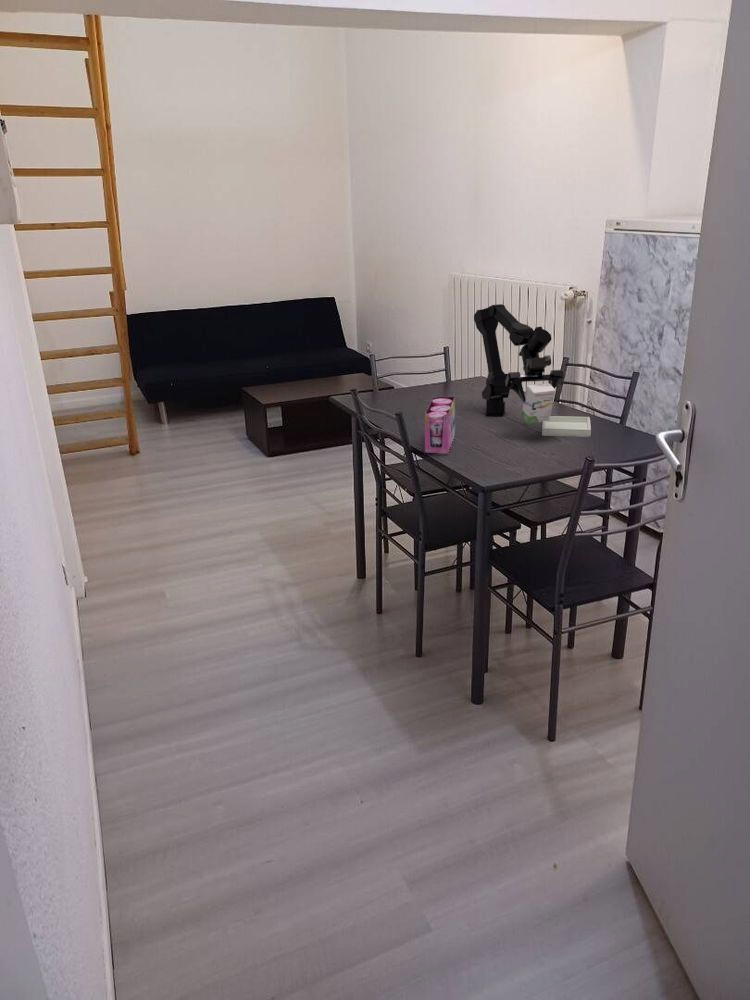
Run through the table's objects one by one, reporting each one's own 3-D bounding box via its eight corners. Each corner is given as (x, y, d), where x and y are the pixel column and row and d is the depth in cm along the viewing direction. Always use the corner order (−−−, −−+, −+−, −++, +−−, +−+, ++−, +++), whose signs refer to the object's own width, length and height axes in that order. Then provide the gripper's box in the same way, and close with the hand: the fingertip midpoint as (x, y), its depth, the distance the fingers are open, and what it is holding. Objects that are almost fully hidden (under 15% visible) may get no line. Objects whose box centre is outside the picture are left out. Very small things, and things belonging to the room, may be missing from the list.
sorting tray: (541, 435, 258) (542, 428, 257) (543, 422, 272) (543, 415, 271) (590, 436, 254) (591, 429, 253) (589, 423, 269) (589, 416, 268)
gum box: (448, 456, 242) (448, 415, 237) (423, 455, 243) (423, 414, 238) (455, 434, 263) (455, 396, 258) (433, 434, 265) (432, 396, 260)
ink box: (527, 423, 250) (533, 392, 243) (520, 416, 254) (526, 385, 247) (549, 420, 253) (557, 389, 246) (542, 413, 256) (549, 382, 249)
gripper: (508, 348, 248) (515, 389, 242) (564, 345, 249) (572, 386, 243) (502, 366, 258) (508, 406, 252) (556, 364, 259) (563, 404, 253)
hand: (538, 400), depth 249 cm, fingers closed on ink box, 9 cm apart
